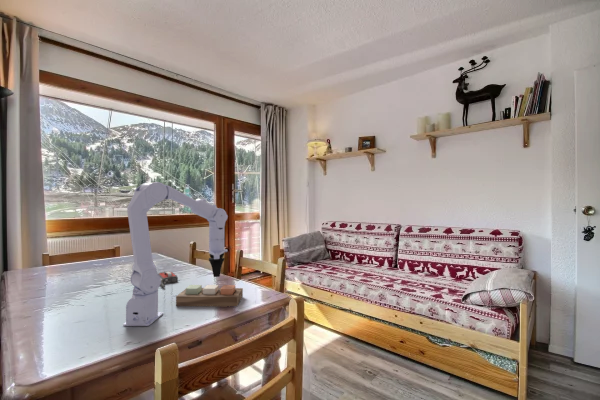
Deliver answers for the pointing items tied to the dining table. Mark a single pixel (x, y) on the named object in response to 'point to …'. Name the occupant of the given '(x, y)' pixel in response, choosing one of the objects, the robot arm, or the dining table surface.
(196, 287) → the key sage
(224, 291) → the key rust
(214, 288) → the key cream
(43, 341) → the dining table surface
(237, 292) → the wooden tray
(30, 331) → the dining table surface
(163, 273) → the walkie-talkie
